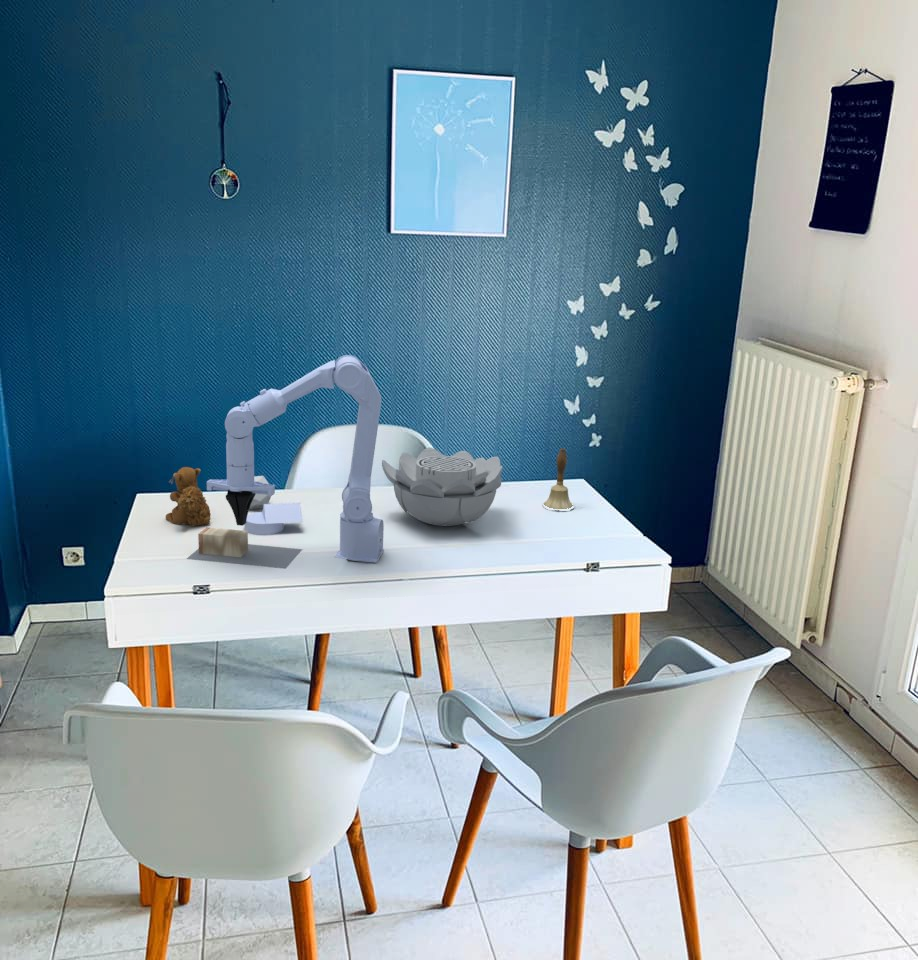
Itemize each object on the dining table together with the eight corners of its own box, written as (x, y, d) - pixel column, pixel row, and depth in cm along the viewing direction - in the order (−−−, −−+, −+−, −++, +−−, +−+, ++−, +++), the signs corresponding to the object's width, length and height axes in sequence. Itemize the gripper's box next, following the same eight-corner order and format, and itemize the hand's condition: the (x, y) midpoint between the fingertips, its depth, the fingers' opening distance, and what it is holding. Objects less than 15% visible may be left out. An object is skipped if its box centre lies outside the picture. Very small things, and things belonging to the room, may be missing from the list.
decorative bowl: (457, 551, 217) (460, 488, 213) (361, 521, 234) (362, 462, 230) (529, 521, 241) (533, 463, 237) (437, 496, 258) (439, 442, 254)
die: (230, 509, 241) (235, 486, 234) (244, 485, 247) (249, 462, 240) (260, 522, 242) (265, 499, 234) (274, 498, 247) (279, 475, 240)
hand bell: (536, 504, 255) (540, 446, 251) (562, 501, 259) (566, 444, 254) (553, 513, 248) (558, 454, 244) (580, 510, 252) (585, 451, 247)
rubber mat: (302, 551, 212) (302, 549, 212) (285, 570, 201) (285, 568, 201) (208, 542, 215) (208, 540, 215) (186, 561, 204) (186, 558, 204)
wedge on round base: (297, 523, 231) (243, 526, 228) (297, 496, 230) (242, 499, 226) (302, 535, 223) (246, 538, 219) (302, 508, 221) (245, 510, 217)
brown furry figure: (203, 511, 237) (201, 460, 233) (222, 528, 225) (221, 474, 222) (162, 516, 231) (160, 464, 228) (180, 534, 220) (178, 479, 216)
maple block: (247, 531, 209) (206, 527, 210) (240, 537, 205) (198, 533, 206) (248, 550, 210) (207, 546, 211) (240, 557, 206) (198, 553, 207)
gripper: (200, 465, 200) (202, 526, 203) (266, 471, 198) (267, 532, 201) (213, 457, 206) (214, 516, 210) (277, 462, 204) (278, 522, 208)
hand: (241, 524), depth 206 cm, fingers closed
